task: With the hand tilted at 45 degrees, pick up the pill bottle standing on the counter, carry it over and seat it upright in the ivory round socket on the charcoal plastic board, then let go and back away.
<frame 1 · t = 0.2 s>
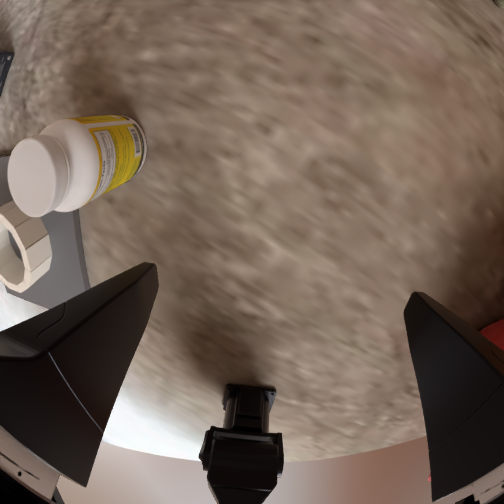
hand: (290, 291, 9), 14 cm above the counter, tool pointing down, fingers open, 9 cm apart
mixing bowl: (479, 353, 30), on the counter
pill bottle: (119, 149, 21), on the counter
socket board: (30, 235, 25), on the counter
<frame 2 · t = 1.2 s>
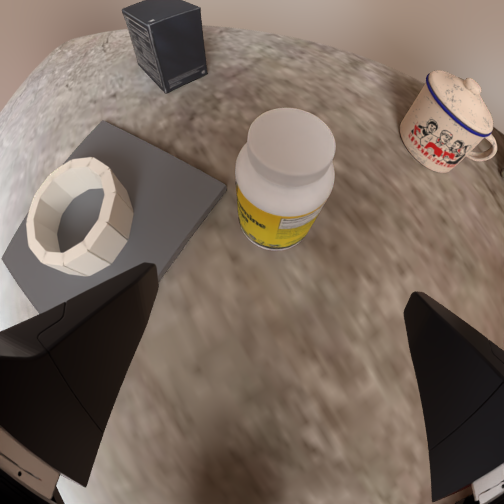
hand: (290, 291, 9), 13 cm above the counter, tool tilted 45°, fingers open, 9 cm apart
teacup with lid: (436, 151, 27), on the counter
small box: (171, 69, 30), on the counter
pill bottle: (274, 219, 24), on the counter
socket board: (92, 228, 24), on the counter
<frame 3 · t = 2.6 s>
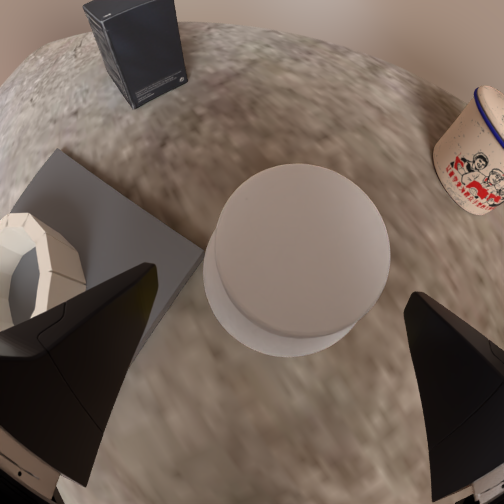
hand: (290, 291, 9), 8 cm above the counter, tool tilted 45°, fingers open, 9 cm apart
teacup with lid: (472, 184, 21), on the counter
small box: (145, 76, 24), on the counter
pill bottle: (271, 297, 18), on the counter
socket board: (45, 296, 17), on the counter
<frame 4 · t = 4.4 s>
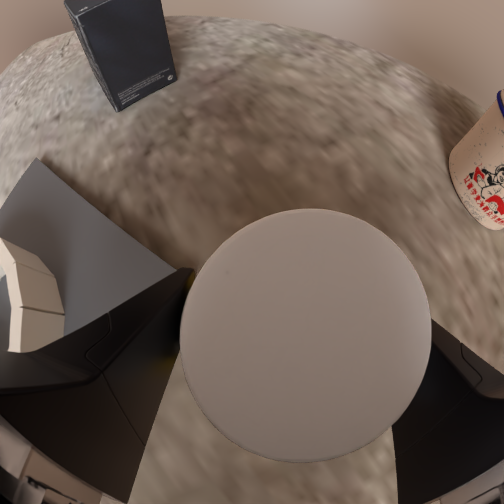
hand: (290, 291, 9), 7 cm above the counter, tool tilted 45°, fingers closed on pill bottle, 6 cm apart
teacup with lid: (488, 195, 18), on the counter
small box: (131, 75, 21), on the counter
pill bottle: (269, 333, 15), on the counter, touching gripper
socket board: (25, 322, 14), on the counter
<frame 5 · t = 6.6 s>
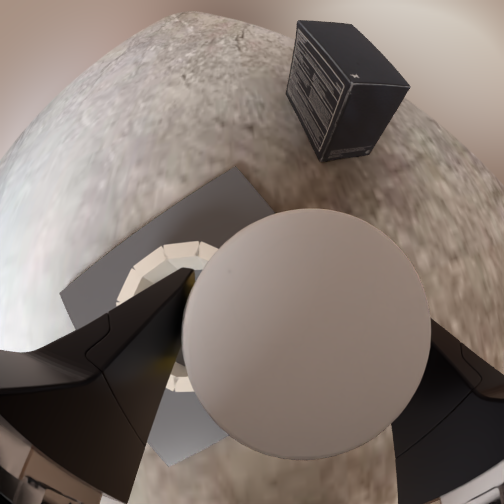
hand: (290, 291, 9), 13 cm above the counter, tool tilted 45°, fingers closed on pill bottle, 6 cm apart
small box: (327, 122, 27), on the counter
pill bottle: (269, 332, 15), point 6 cm above the counter, touching gripper
socket board: (199, 319, 22), on the counter
when the fingers open (8 cm above the counter, at t = 9.1 s): pill bottle stays where it is, resting on socket board.
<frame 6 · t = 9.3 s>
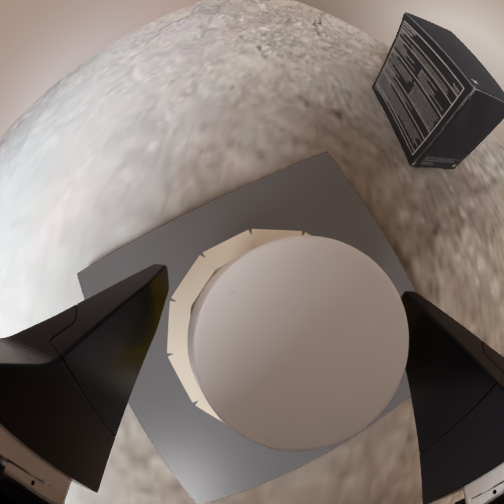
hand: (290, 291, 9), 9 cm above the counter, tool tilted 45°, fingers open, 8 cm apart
small box: (413, 126, 22), on the counter
pill bottle: (267, 335, 16), point 1 cm above the counter, touching socket board
socket board: (267, 332, 17), on the counter
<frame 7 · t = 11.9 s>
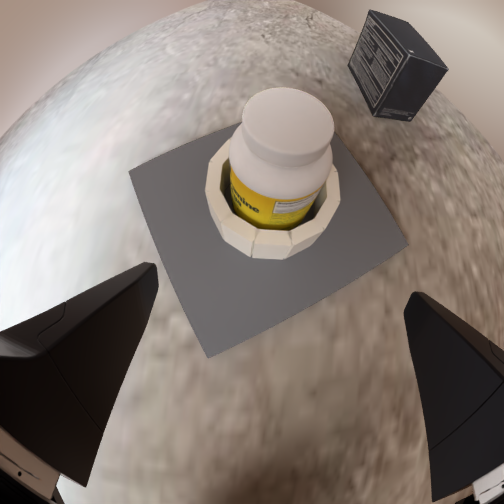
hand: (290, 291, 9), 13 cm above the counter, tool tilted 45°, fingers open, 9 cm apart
small box: (378, 92, 30), on the counter
pill bottle: (268, 205, 23), point 1 cm above the counter, touching socket board
socket board: (268, 207, 24), on the counter
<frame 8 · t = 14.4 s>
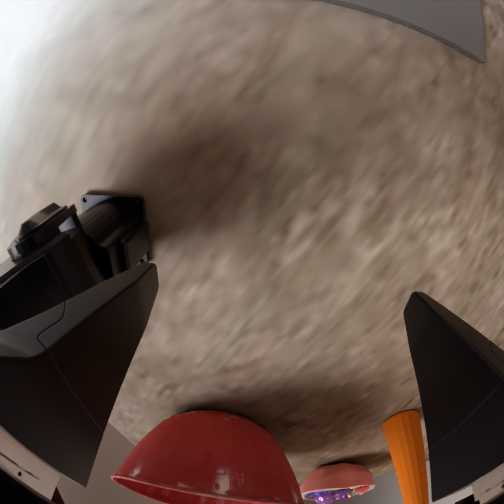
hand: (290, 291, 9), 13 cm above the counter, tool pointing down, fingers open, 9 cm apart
spray bottle: (395, 416, 37), on the counter
cell model: (336, 465, 50), on the counter
mixing bowl: (219, 426, 40), on the counter
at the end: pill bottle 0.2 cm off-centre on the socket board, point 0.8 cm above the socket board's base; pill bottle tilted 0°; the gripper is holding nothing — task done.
